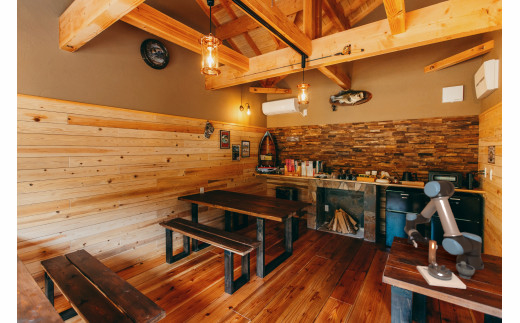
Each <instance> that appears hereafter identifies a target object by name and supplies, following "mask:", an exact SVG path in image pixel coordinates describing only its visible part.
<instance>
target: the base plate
mask: <svg viewBox="0 0 520 323" xmlns="http://www.w3.org/2000/svg"><path fill="white" fill-rule="evenodd" d="M416 270H417V271H418V272H419V274H420V275H421V276H422V277H423V279H424V280H425V281H426V282H427V284H428V285H429V286H436V287H446V288H455V289H456V288H457V289H464V290H466V289H467V285H466V284H465V283H464V282H463V281H462V280H461V279H460V278H459V277H458V276H457V275H455V274H454V272H452V279H451V280H448V281H447V280H440V279H437V278H434V277H432V276H431V275H429V273H428V266H421V265H416Z"/></svg>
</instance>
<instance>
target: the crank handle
mask: <svg viewBox="0 0 520 323" xmlns="http://www.w3.org/2000/svg"><path fill="white" fill-rule="evenodd" d="M433 240H434V239H432V240H430V241H429V243H428V244H429V245H428V246H429V247H428V263H429V264H428V266H427V267H428V273H429V275H431V276H432V277H434V278H437V279H440V280H447V281H448V280H451V279H452V273H453V272H452V270H451V269H450V268H447V267H446V265H444V264H442V265H438V263H437V262H436V261H437V260H436V258H437V249H436V242H437V241H436V240H434V241H433Z"/></svg>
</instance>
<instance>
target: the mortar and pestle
mask: <svg viewBox="0 0 520 323" xmlns="http://www.w3.org/2000/svg"><path fill="white" fill-rule="evenodd" d="M455 268H456V271H457V272H458V275H459V277H461V278H463V279H465V280H470V279H471V278H472V276H473V275H474V274H475V273H476V269H475V268H474V267H472V266H470V265H467V264H466V263H465V262H464V261H461V263H457V262H456V264H455Z"/></svg>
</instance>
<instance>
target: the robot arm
mask: <svg viewBox="0 0 520 323" xmlns="http://www.w3.org/2000/svg"><path fill="white" fill-rule="evenodd" d="M455 191H456V187H455V185H454V184H453V182H451V181H448V180H446V179H445V180H432V181H429V182H427V183H426V184H425V186H424V187H423V192H424V194H425V196H427V197H429V199H430V201H429V202H428V203H427V205H425V207H424V208H423V210H422V211H421V212H420V213H419V214H416V213H413V212H408V213H406V214H405V215H406V217H405V226H404V228H403V229H404V232H405V234H407V235H408V237H407V243H408V244H410V245H413V246H414V247H415V248H418V243H416V242H422V243H427V244H429V241H430V240H433V241H435V240H434V239H432V238H429V237H427V236H425V237H423V236H422V234H421V233H420V232H419V231H418V230H417V225H419V224H427V223H430V221H431V219H432V216H433V215H434V214H435V213H436V212H437V214H438V217H439V219H440V220H439V221H440V222H441V226H442V230H443V232H444V234H443V240H442V242H441V244H442V247H443V249H444V250H445V251H446V252H448V254H450V255H453V256H454V255H455V256H456V260H455V261H456V264H457V263H461V261H464V262H465V263H466V264H467V265H470V266H472V267H474V268H475V271H476V270H484V268H485V267H484V266H485V265H484V261H483V260H482V244H483V242H482V237H481V236H479V235H477V234H474V233H470V232H465V231H464V232H460V230H459V228H458V225H457V222H456V219H455V216H454V213H453V212H452V209H451V206H450V202H449V200H448V199H450V198H451V197H452V196H453V195H454V193H455ZM437 244H438V241H436V250H437V249H438V245H437Z"/></svg>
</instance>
